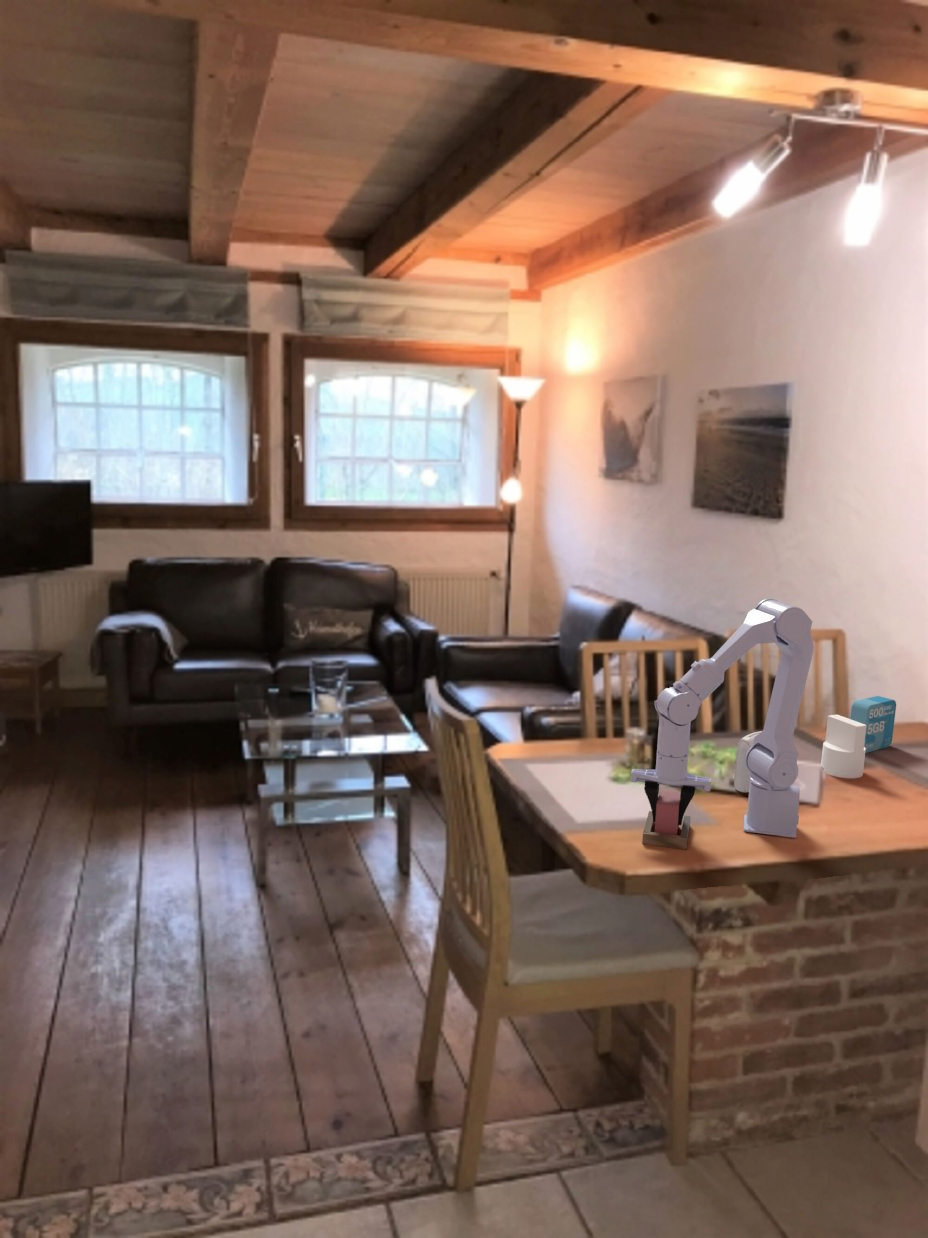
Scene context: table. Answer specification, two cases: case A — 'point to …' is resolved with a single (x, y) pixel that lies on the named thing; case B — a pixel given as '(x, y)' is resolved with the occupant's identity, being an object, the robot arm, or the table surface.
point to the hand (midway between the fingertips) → (667, 821)
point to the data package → (875, 720)
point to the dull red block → (667, 812)
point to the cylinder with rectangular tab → (844, 747)
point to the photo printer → (743, 763)
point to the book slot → (666, 835)
